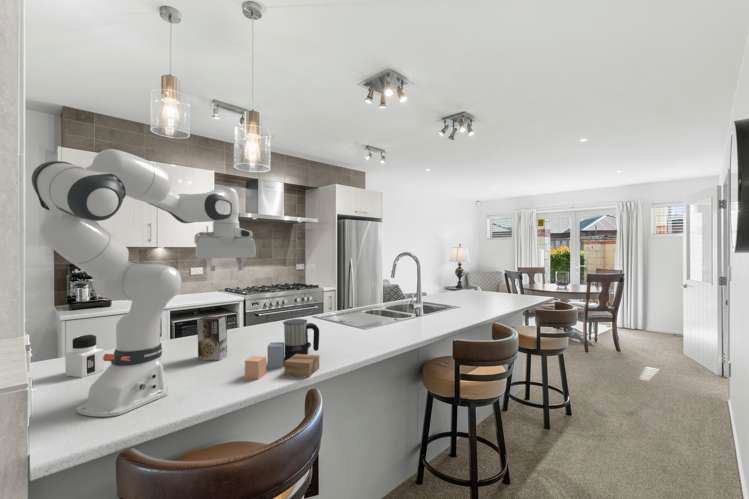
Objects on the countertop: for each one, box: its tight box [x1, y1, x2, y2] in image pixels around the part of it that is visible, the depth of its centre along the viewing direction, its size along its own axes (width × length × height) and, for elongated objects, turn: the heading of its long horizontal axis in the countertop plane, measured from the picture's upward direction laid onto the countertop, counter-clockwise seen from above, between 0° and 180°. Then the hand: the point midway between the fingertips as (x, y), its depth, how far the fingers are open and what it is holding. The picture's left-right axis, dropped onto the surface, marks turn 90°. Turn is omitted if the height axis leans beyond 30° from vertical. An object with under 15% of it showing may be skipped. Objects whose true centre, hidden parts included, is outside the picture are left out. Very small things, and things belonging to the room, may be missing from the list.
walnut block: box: [284, 354, 320, 378], centre depth 129 cm, size 9×9×5 cm
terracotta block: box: [244, 355, 267, 380], centre depth 125 cm, size 5×5×6 cm
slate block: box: [267, 341, 285, 369], centre depth 135 cm, size 5×5×8 cm
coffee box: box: [196, 315, 228, 361], centre depth 145 cm, size 9×6×16 cm
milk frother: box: [282, 318, 320, 362], centre depth 148 cm, size 14×16×15 cm
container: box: [64, 334, 105, 378], centre depth 128 cm, size 8×8×13 cm
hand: (226, 270), depth 133 cm, fingers open, 8 cm apart
